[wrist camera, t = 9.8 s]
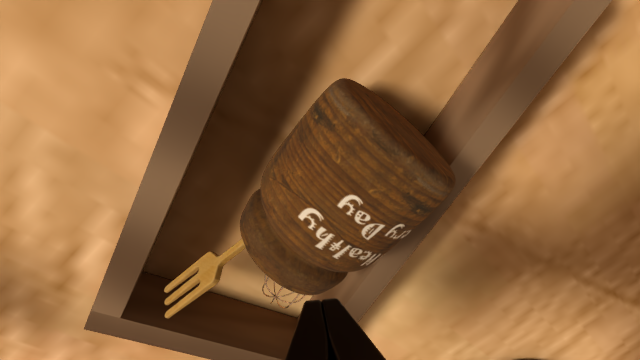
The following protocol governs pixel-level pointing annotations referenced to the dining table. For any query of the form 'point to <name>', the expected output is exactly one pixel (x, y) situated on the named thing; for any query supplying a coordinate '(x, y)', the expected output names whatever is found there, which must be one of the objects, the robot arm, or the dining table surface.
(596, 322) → the dining table surface
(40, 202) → the dining table surface
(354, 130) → the utensil holder
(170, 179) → the tray
